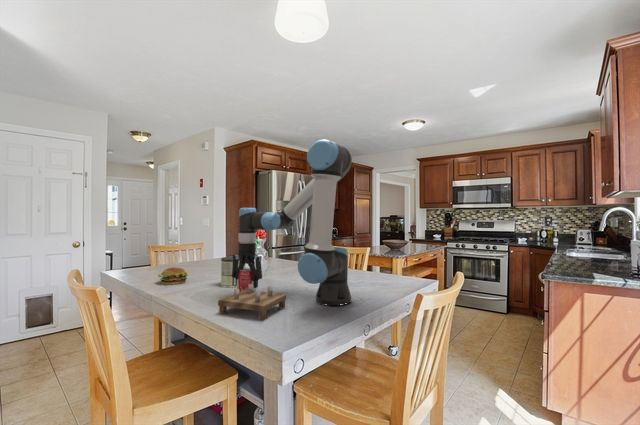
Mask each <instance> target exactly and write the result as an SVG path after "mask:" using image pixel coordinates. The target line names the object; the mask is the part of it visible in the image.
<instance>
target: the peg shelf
mask: <svg viewBox="0 0 640 425" xmlns="http://www.w3.org/2000/svg"><path fill="white" fill-rule="evenodd" d="M273 291H274V290H273V286H272V285H268V286H267V291H260V290H256V291H253V284H248V290H244V291H241V292H239V289H237V288H234V289H233V294H231V295H228V296H226V297H222V298H221V299H218V302H217V306H218V307H219V309H218V310H219V311H218V314H219V315H225V314H227V309H228V308H233V309H241V310H248V311H253V312H254V311H257V312H258V320H259V321H265V320H266V319H267V311H268V310H269V309H271V308H273V307H275V306H277V305H278V309H283V310H284V309H285V308H286V300H287V293H285V294H284V293H277V292H273Z"/></svg>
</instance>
